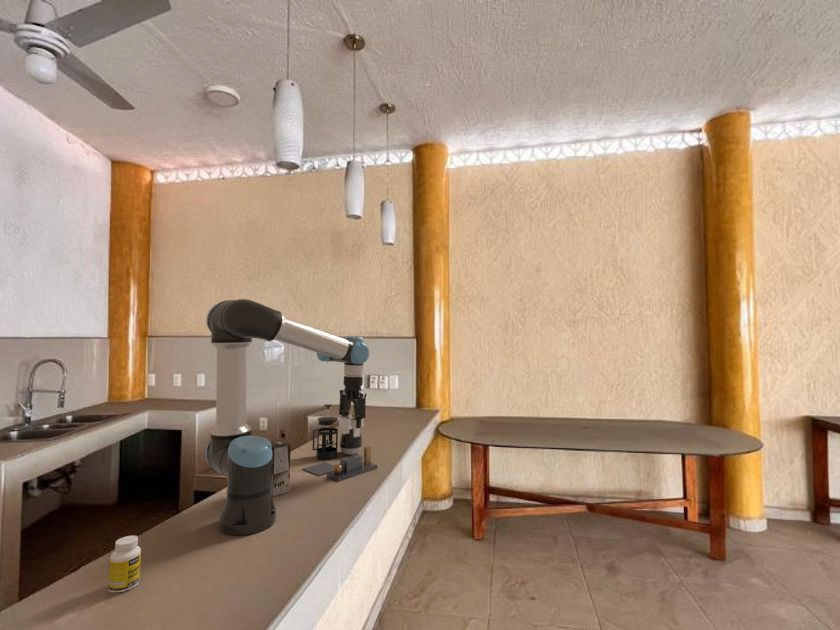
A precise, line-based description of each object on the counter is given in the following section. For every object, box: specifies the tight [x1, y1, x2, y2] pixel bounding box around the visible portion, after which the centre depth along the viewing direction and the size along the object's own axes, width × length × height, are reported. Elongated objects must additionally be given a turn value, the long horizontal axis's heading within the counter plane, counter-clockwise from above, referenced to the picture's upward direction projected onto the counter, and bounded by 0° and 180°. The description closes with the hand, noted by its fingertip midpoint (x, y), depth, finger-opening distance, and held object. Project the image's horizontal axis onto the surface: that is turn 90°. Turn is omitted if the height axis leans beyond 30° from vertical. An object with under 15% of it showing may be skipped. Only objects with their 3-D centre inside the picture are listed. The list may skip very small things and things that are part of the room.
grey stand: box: [326, 445, 379, 483], centre depth 160 cm, size 20×7×8 cm, turn 140°
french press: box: [312, 404, 339, 461], centre depth 180 cm, size 12×9×23 cm
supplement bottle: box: [107, 535, 142, 593], centre depth 87 cm, size 5×5×10 cm
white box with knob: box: [338, 410, 365, 430], centre depth 160 cm, size 8×6×6 cm
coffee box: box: [269, 439, 292, 497], centre depth 141 cm, size 9×6×16 cm
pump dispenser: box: [339, 429, 363, 456], centre depth 185 cm, size 10×10×15 cm
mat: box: [301, 461, 335, 477], centre depth 163 cm, size 11×11×1 cm
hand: (351, 434), depth 159 cm, fingers closed on white box with knob, 6 cm apart
